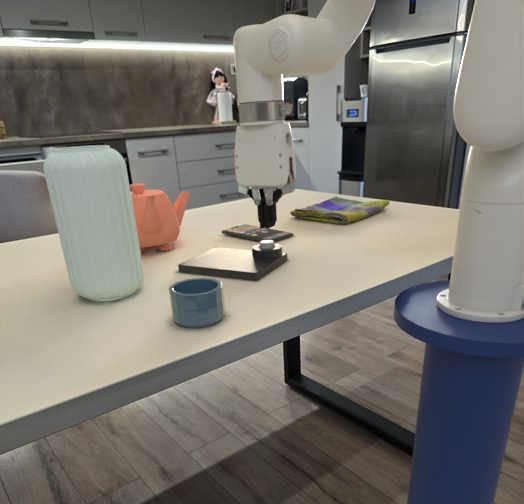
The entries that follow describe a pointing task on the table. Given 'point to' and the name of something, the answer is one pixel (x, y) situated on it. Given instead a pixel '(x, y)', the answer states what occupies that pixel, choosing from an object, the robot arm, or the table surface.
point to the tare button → (266, 244)
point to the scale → (235, 262)
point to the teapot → (157, 216)
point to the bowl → (197, 302)
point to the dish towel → (340, 210)
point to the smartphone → (257, 233)
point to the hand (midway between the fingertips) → (267, 226)
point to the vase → (95, 221)
